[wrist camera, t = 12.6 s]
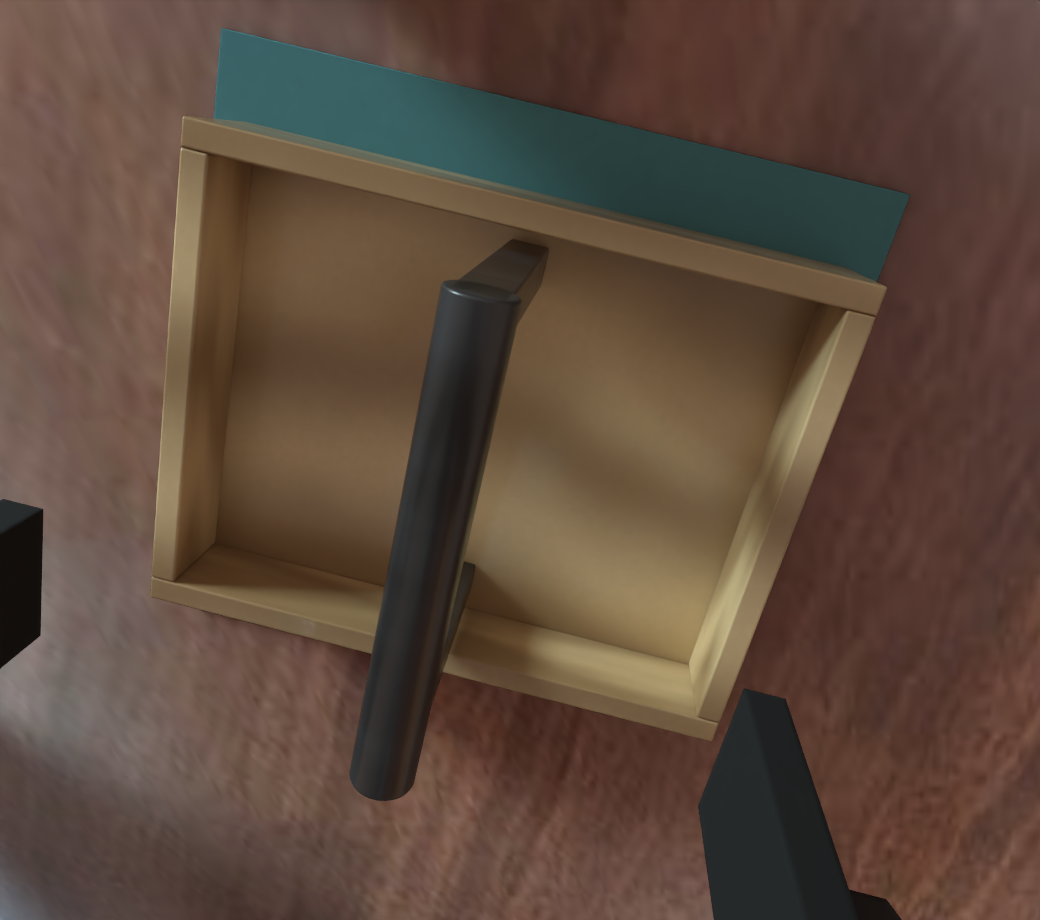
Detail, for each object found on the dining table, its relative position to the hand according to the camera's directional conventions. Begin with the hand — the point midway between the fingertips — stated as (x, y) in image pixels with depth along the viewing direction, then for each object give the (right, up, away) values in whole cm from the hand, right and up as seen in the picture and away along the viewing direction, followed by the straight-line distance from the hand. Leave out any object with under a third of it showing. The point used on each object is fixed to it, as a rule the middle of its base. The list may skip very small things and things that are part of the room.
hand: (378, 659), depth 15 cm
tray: (+2, +5, +13) cm, 14 cm away
